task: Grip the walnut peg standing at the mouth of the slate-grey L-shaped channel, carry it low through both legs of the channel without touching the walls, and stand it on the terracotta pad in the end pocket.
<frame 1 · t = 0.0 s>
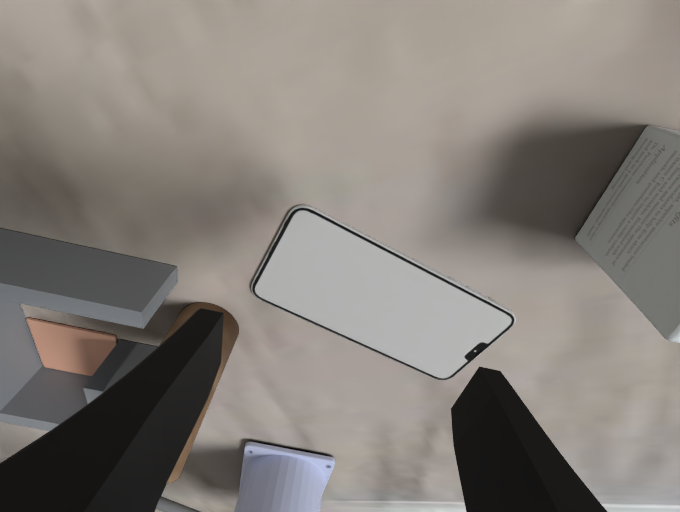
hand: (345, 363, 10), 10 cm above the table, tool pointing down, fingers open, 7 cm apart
peg: (209, 325, 24), on the table
skincare box: (661, 195, 17), on the table
channel: (103, 342, 26), on the table
smartphone: (382, 297, 23), on the table
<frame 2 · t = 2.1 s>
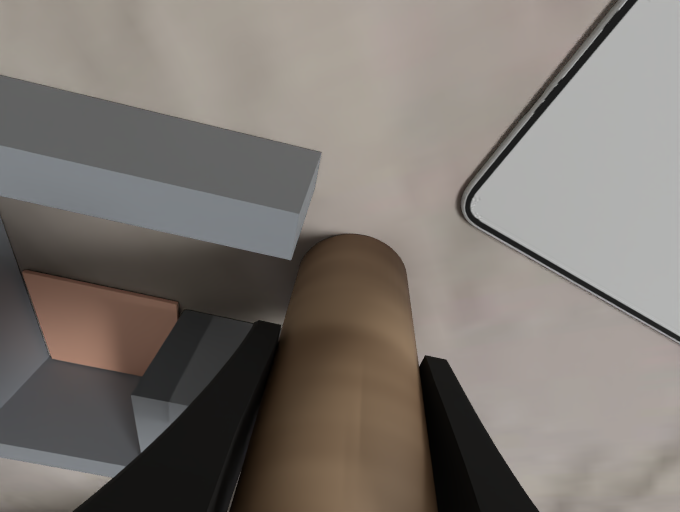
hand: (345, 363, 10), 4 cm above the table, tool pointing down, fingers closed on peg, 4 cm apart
peg: (352, 281, 13), on the table, touching gripper
channel: (155, 316, 15), on the table
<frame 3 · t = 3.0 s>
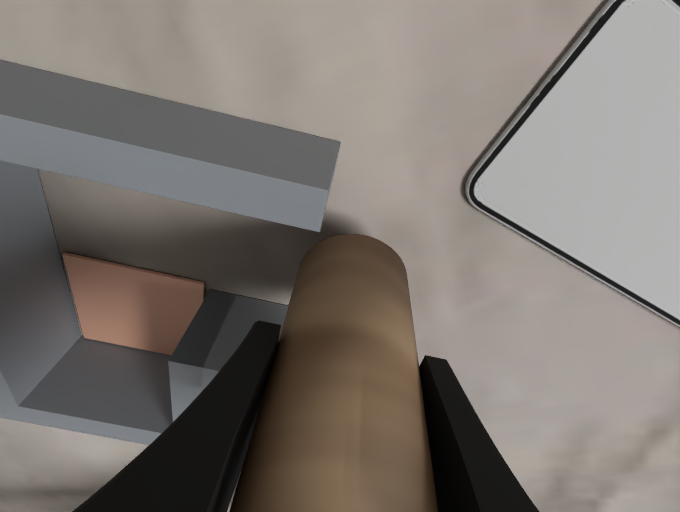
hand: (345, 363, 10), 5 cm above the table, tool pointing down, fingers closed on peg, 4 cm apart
peg: (352, 280, 13), point 1 cm above the table, touching gripper
channel: (182, 296, 16), on the table
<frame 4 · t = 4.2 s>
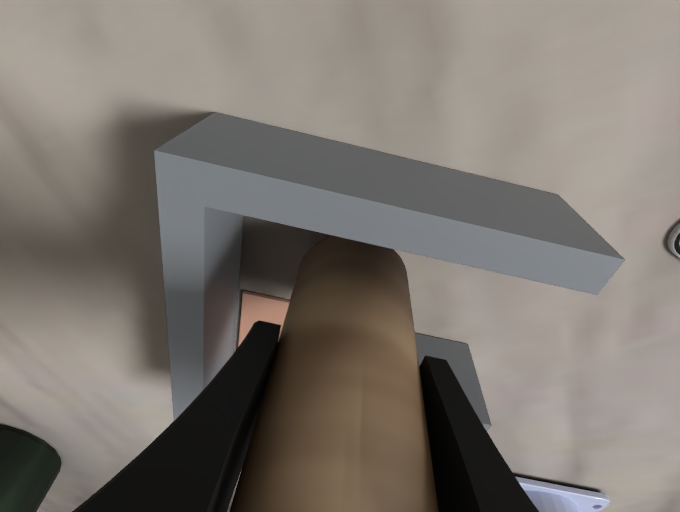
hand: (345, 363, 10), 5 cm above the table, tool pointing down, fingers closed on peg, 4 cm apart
peg: (352, 280, 13), point 1 cm above the table, touching gripper
potion bottle: (18, 445, 26), on the table
channel: (348, 331, 17), on the table
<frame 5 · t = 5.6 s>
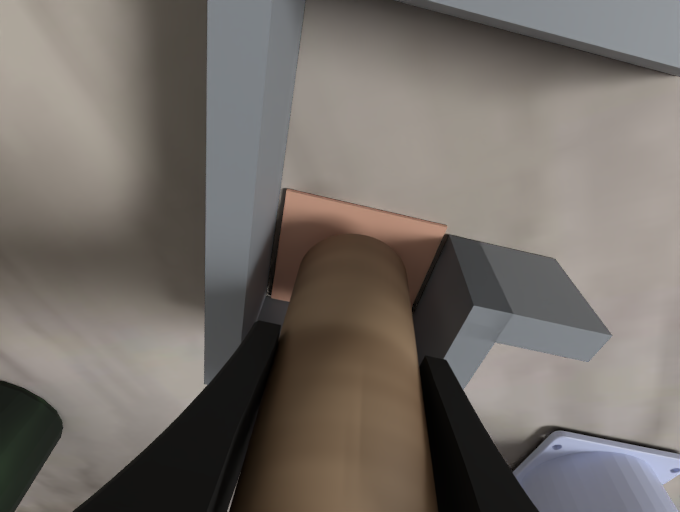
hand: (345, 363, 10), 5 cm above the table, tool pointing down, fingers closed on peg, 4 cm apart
peg: (352, 280, 13), point 1 cm above the table, touching gripper
potion bottle: (15, 406, 23), on the table
channel: (410, 243, 14), on the table
when the fingers open (4 cm above the table, at t = 6.5 s): peg stays where it is, resting on channel.
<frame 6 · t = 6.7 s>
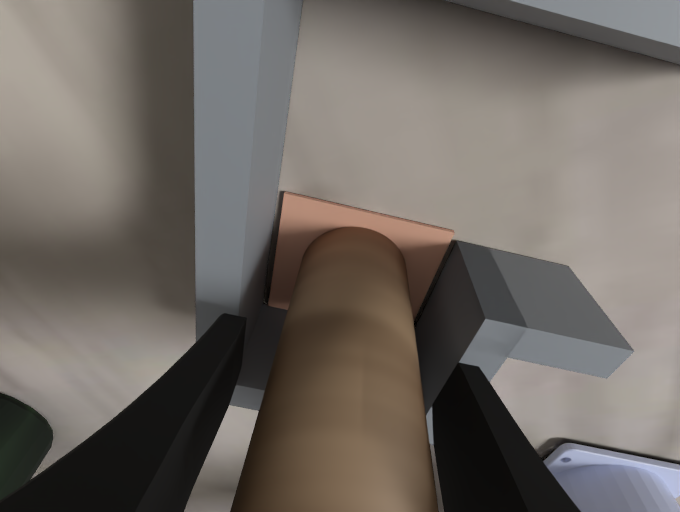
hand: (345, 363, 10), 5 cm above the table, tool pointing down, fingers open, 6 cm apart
peg: (353, 272, 14), resting on channel
potion bottle: (3, 415, 22), on the table
channel: (415, 249, 13), on the table
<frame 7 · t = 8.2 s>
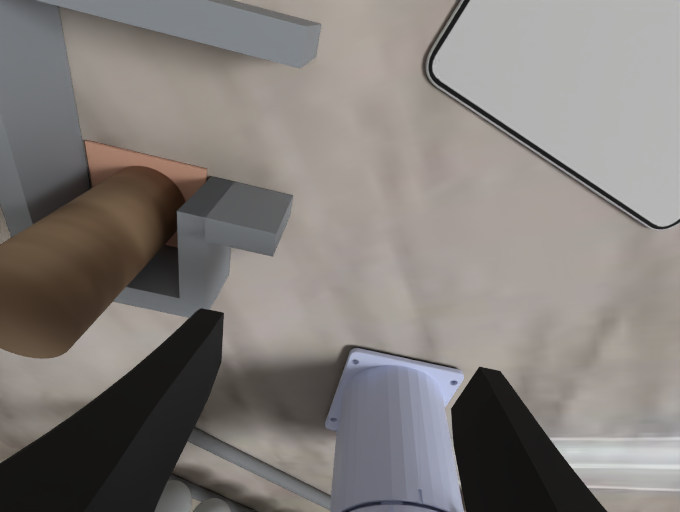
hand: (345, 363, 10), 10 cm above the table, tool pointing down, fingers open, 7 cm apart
peg: (149, 201, 20), resting on channel
newton's cradle: (258, 486, 38), on the table
channel: (187, 183, 19), on the table
smartphone: (609, 84, 16), on the table
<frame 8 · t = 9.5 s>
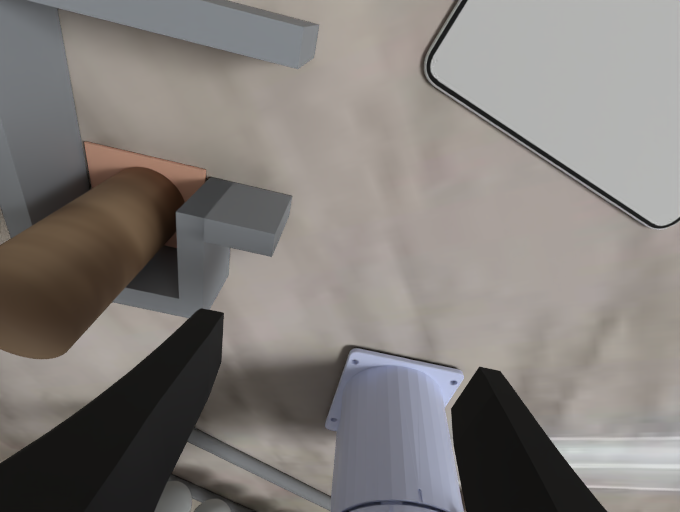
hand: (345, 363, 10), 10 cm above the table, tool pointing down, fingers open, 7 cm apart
peg: (149, 202, 20), resting on channel
newton's cradle: (258, 487, 38), on the table
channel: (186, 184, 19), on the table
smartphone: (608, 84, 16), on the table
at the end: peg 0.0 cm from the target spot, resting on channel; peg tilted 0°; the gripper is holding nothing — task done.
